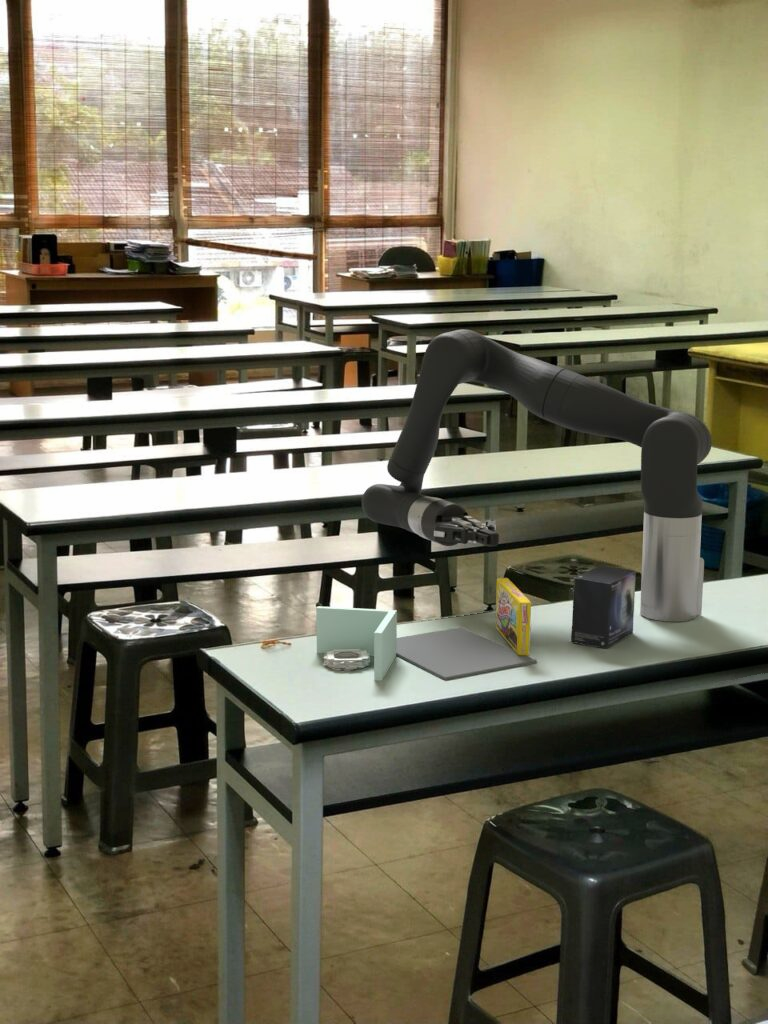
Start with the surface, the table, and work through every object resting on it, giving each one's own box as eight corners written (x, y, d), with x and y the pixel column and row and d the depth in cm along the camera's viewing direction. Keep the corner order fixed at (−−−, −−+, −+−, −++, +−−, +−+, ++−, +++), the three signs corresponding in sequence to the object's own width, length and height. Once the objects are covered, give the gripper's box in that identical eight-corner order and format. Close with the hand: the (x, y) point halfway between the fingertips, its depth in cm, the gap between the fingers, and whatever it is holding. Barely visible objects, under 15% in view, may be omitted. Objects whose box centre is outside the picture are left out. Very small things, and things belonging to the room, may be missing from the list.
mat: (461, 629, 211) (461, 627, 211) (536, 662, 194) (536, 660, 194) (374, 644, 203) (374, 641, 203) (445, 680, 186) (445, 677, 186)
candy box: (493, 628, 212) (496, 577, 210) (506, 628, 212) (509, 577, 210) (515, 655, 196) (519, 601, 194) (530, 656, 196) (534, 601, 195)
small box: (608, 650, 200) (611, 582, 198) (569, 643, 204) (571, 577, 202) (635, 633, 209) (638, 568, 207) (597, 627, 213) (599, 563, 211)
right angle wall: (318, 654, 200) (317, 606, 198) (396, 659, 198) (396, 610, 196) (298, 679, 188) (298, 628, 187) (381, 684, 186) (381, 633, 185)
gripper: (406, 502, 229) (462, 521, 214) (469, 496, 235) (528, 514, 221) (405, 545, 230) (460, 566, 215) (468, 537, 237) (526, 558, 222)
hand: (494, 540), depth 218 cm, fingers closed
